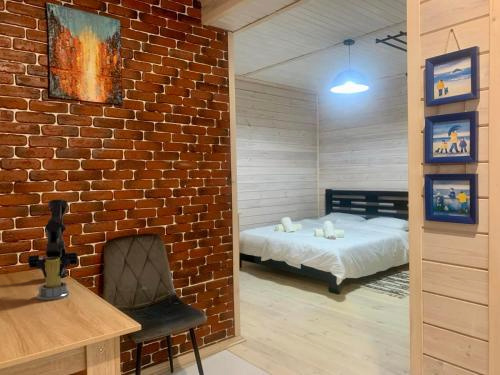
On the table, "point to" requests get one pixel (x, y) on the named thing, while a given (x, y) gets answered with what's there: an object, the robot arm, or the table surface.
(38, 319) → the table surface
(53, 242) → the robot arm
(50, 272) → the vase
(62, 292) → the collar
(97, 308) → the table surface
